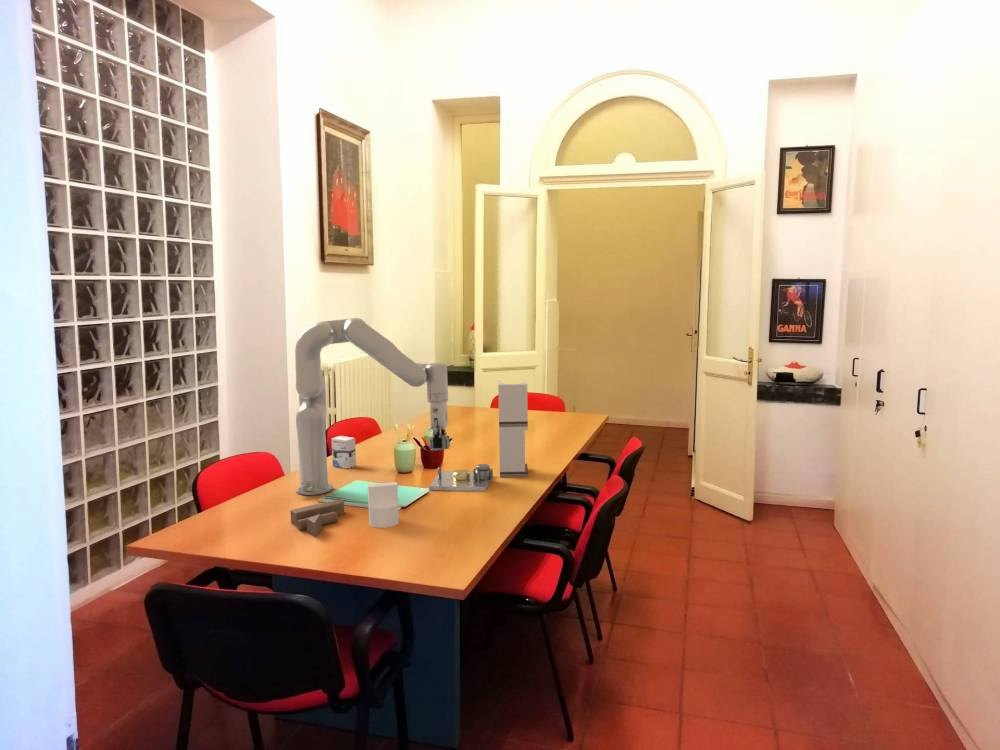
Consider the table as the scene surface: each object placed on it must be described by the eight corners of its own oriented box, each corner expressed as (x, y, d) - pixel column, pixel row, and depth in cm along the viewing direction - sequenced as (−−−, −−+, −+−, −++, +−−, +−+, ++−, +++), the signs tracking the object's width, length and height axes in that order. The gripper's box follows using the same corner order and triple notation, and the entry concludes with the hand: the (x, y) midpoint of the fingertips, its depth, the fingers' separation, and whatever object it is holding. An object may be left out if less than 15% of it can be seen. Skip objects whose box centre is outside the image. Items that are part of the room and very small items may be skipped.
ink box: (332, 466, 280) (330, 438, 278) (340, 463, 284) (339, 435, 283) (348, 469, 276) (347, 440, 274) (356, 466, 280) (355, 437, 279)
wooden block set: (286, 507, 212) (340, 495, 224) (287, 525, 213) (341, 512, 225) (310, 520, 200) (366, 507, 211) (311, 539, 200) (367, 525, 212)
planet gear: (447, 450, 250) (447, 436, 249) (428, 450, 250) (428, 436, 250) (450, 445, 256) (450, 432, 256) (432, 445, 257) (431, 432, 256)
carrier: (489, 491, 243) (489, 473, 242) (429, 490, 245) (428, 472, 244) (495, 475, 263) (495, 458, 262) (439, 474, 265) (439, 458, 264)
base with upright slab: (370, 529, 207) (368, 490, 205) (367, 519, 216) (366, 482, 214) (400, 525, 209) (399, 487, 208) (397, 516, 218) (395, 479, 216)
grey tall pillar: (528, 476, 260) (527, 384, 256) (499, 477, 260) (498, 384, 256) (526, 468, 272) (525, 380, 267) (499, 469, 272) (498, 380, 267)
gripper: (443, 401, 242) (445, 451, 244) (452, 393, 259) (453, 440, 261) (422, 401, 243) (424, 451, 245) (432, 393, 260) (434, 440, 262)
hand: (439, 445), depth 253 cm, fingers closed on planet gear, 7 cm apart
